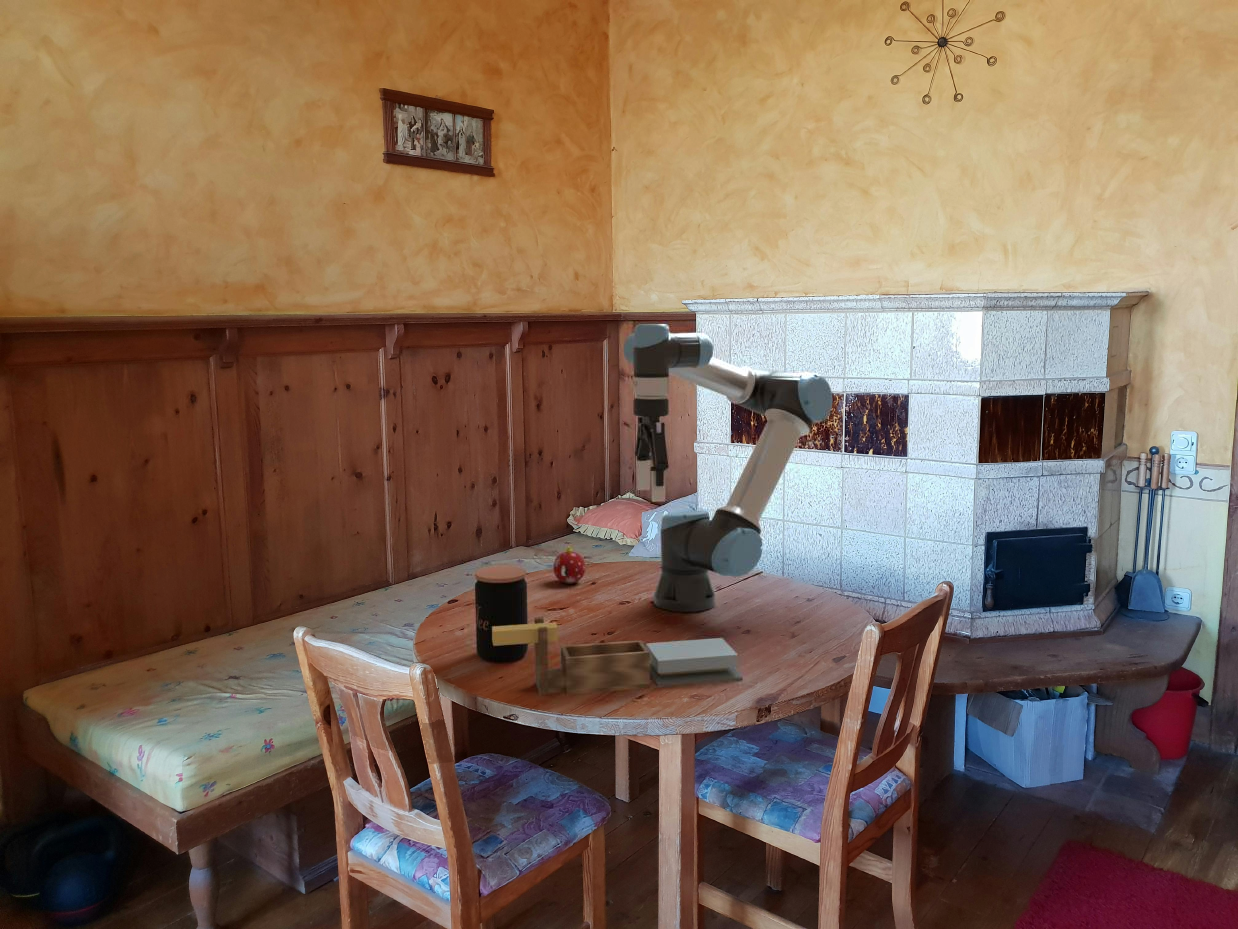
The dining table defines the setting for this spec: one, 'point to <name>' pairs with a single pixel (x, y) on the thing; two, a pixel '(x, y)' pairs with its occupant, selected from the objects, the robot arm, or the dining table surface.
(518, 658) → the coffee jar
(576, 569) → the christmas ornament
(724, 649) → the lid
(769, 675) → the dining table surface
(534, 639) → the yellow block
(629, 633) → the dining table surface
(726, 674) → the mat
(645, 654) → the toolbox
